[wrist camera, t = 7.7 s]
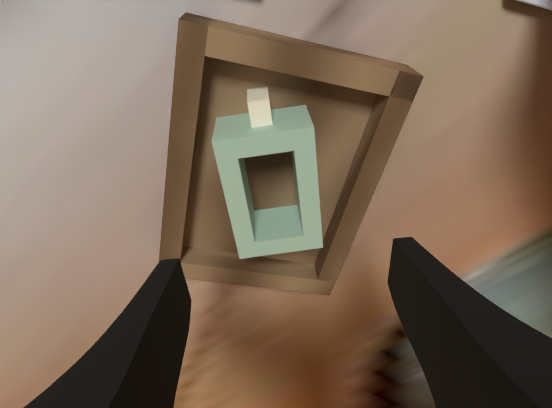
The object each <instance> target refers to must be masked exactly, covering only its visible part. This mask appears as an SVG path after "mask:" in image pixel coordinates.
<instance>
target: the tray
mask: <svg viewBox="0 0 552 408" xmlns="http://www.w3.org/2000/svg"><path fill="white" fill-rule="evenodd" d="M422 79H423V76H422V75H421V74H419V73H418V72H417V71H415V70H414V69H412V68H411V67H409V66H408V65H405V64H400V63H396V62H392V61H388V60H384V59H379V58H375V57H371V56H367V55H362V54H358V53H354V52H350V51H346V50H341V49H337V48H333V47H329V46H325V45H320V44H316V43H312V42H308V41H304V40H299V39H295V38H291V37H287V36H283V35H278V34H274V33H270V32H266V31H261V30H257V29H253V28H249V27H245V26H240V25H236V24H232V23H228V22H224V21H219V20H215V19H211V18H207V17H203V16H198V15H194V14H190V13H185V14H184V15H183V16H182V17H180V18H179V22H178V34H177V46H176V58H175V71H174V83H173V95H172V108H171V120H170V132H169V145H168V157H167V169H166V181H165V194H164V206H163V218H162V231H161V243H160V255H159V262H160V261H161V260H165V259H176V258H179V259H180V262H181V266H182V269H183V273H184V276H185V278H189V279H197V280H205V281H214V282H222V283H231V284H239V285H247V286H256V287H264V288H273V289H281V290H289V291H298V292H306V293H315V294H323V295H330V294H331V291H332V289H333V287H334V284H335V282H336V280H337V277H338V275H339V273H340V270H341V268H342V266H343V263H344V261H345V259H346V256H347V254H348V252H349V249H350V247H351V245H352V242H353V240H354V238H355V235H356V233H357V231H358V228H359V226H360V224H361V221H362V219H363V217H364V214H365V212H366V210H367V207H368V205H369V203H370V200H371V198H372V196H373V193H374V191H375V189H376V186H377V184H378V182H379V179H380V177H381V175H382V172H383V170H384V168H385V165H386V163H387V161H388V158H389V156H390V154H391V151H392V149H393V147H394V144H395V142H396V139H397V137H398V135H399V132H400V130H401V128H402V125H403V123H404V121H405V118H406V116H407V114H408V111H409V109H410V107H411V104H412V102H413V100H414V97H415V95H416V93H417V90H418V88H419V86H420V83H421V81H422ZM260 87H268V94H269V101H270V108H271V110H273V109H280V108H287V107H294V106H301V105H306V107H307V110H308V112H309V115H310V117H311V120H312V123H313V125H314V131H315V145H316V158H317V171H318V185H319V198H320V212H321V225H322V239H323V248H317V249H310V250H302V251H295V252H288V253H280V254H273V255H265V256H258V257H251V258H243V259H240V258H239V254H238V250H237V246H236V242H235V238H234V233H233V229H232V225H231V221H230V217H229V213H228V208H227V204H226V200H225V196H224V192H223V187H222V183H221V179H220V175H219V171H218V167H217V162H216V158H215V154H214V150H213V146H212V137H213V132H214V127H215V122H216V118H217V117H224V116H231V115H238V114H245V113H249V110H248V104H247V89H253V88H260ZM244 160H245V165H246V171H247V176H248V181H249V186H250V191H251V197H252V202H253V207H254V211H256V210H263V209H270V208H277V207H284V206H292V205H297V197H296V189H295V180H294V171H293V162H292V154H291V151H289V152H282V153H275V154H268V155H261V156H254V157H247V158H244Z"/></svg>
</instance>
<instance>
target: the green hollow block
mask: <svg viewBox="0 0 552 408" xmlns="http://www.w3.org/2000/svg"><path fill="white" fill-rule="evenodd" d="M247 104H248V110H249V113H245V114H238V115H231V116H224V117H217V118H216V122H215V127H214V132H213V137H212V146H213V150H214V154H215V158H216V162H217V167H218V171H219V175H220V179H221V183H222V187H223V192H224V196H225V200H226V204H227V208H228V213H229V217H230V221H231V225H232V229H233V233H234V238H235V242H236V246H237V250H238V254H239V258H240V259H243V258H251V257H258V256H265V255H273V254H280V253H288V252H295V251H302V250H310V249H317V248H323V239H322V225H321V212H320V198H319V185H318V171H317V158H316V145H315V131H314V125H313V123H312V120H311V117H310V115H309V112H308V110H307V107H306V105H301V106H294V107H287V108H280V109H273V110H271V108H270V101H269V94H268V87H260V88H253V89H247ZM289 151H291V154H292V162H293V171H294V180H295V189H296V197H297V205H292V206H284V207H277V208H270V209H263V210H256V211H254V207H253V202H252V197H251V191H250V186H249V181H248V176H247V171H246V165H245V160H244V158H247V157H254V156H261V155H268V154H275V153H282V152H289Z"/></svg>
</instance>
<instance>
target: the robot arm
mask: <svg viewBox="0 0 552 408" xmlns="http://www.w3.org/2000/svg"><path fill="white" fill-rule="evenodd" d="M516 1H520V2H523V3H527V4H530V5H534V6H537V7H541V8H544V9H548V10H551V11H552V0H516ZM388 285H389V289H390V292H391V296H392V299H393V302H394V305H395V309H396V311H397V313H398V316H399V318H400V320H401V323H402V325H403V327H404V329H405V332H406V334H407V336H408V338H409V340H410V343H411V345H412V347H413V349H414V352H415V354H416V356H417V358H418V360H419V363H420V365H421V367H422V369H423V372H424V374H425V377H426V379H427V382H428V384H429V387H430V390H431V393H432V396H433V399H434V402H435V405H436V408H552V338H550V337H548V336H546V335H545V334H543V333H541V332H539V331H537V330H536V329H534V328H532V327H530V326H529V325H527V324H525V323H523V322H522V321H520V320H519V319H517V318H515V317H514V316H512V315H511V314H509V313H508V312H506V311H504V310H503V309H501V308H500V307H498V306H497V305H495V304H494V303H492V302H491V301H489V300H488V299H487V298H485V297H484V296H483V295H481V294H480V293H478V292H477V291H476V290H474V289H473V288H472V287H470V286H469V285H468V284H466V283H465V282H464V281H463V280H461V279H460V278H459V277H458V276H456V275H455V274H454V273H453V272H451V271H450V270H449V269H448V268H447V267H445V266H444V265H443V264H442V263H441V262H440V261H438V260H437V259H436V258H435V257H434V256H433V255H431V254H430V253H429V252H428V251H427V250H426V249H425V248H423V247H422V246H421V245H420V244H419V243H418V242H417V241H416V240H414V239H413V238H412V237H405V238H395V239H393V245H392V253H391V260H390V268H389V276H388ZM190 312H191V298H190V294H189V291H188V287H187V284H186V280H185V276H184V273H183V269H182V266H181V262H180V259H179V258H176V259H165V260H161V261H160V262H159V263H158V264H157V266H156V267H155V269H154V270H153V271H152V273H151V274H150V276H149V277H148V278H147V280H146V281H145V283H144V284H143V285H142V287H141V288H140V289H139V291H138V292H137V293H136V295H135V296H134V297H133V299H132V300H131V301H130V303H129V304H128V305H127V306H126V308H125V309H124V310H123V312H122V313H121V314H120V315H119V316H118V318H117V319H116V320H115V321H114V322H113V323H112V325H111V326H110V327H109V328H108V329H107V331H106V332H105V333H104V334H103V335H102V336H101V337H100V338H99V340H98V341H97V342H96V343H95V344H94V345H93V346H92V347H91V348H90V349H89V350H88V351H87V352H86V353H85V354H84V355H83V356H82V357H81V358H80V359H79V360H78V361H77V362H76V363H75V364H74V365H73V366H72V367H71V368H70V369H68V370H67V371H66V372H65V373H64V374H63V375H62V376H61V377H60V378H58V379H57V380H56V381H55V382H54V383H53V384H52V385H51V386H50V387H48V388H47V389H46V390H45V391H44V392H42V393H41V394H40V395H39V396H38V397H36V398H35V399H34V400H33V401H31V402H30V403H29V404H28V405H26V406H25V407H24V408H173V406H174V400H175V394H176V389H177V385H178V380H179V375H180V370H181V366H182V361H183V356H184V351H185V346H186V342H187V337H188V331H189V324H190Z"/></svg>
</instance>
